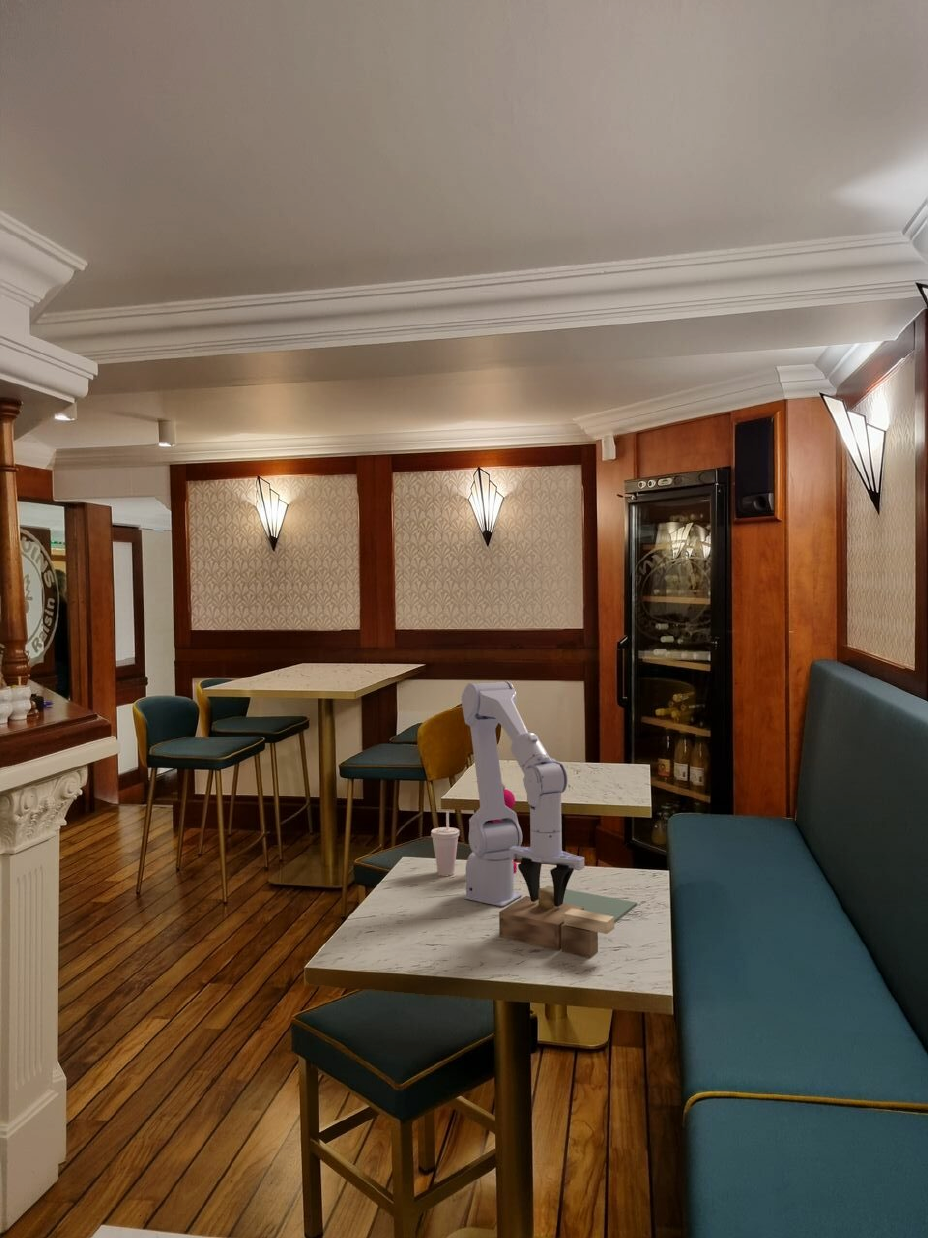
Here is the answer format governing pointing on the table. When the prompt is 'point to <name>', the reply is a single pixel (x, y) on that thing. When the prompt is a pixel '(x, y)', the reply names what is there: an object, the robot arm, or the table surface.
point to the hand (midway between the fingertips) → (546, 902)
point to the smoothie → (445, 847)
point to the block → (589, 920)
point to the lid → (538, 910)
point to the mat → (598, 903)
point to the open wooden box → (552, 937)
